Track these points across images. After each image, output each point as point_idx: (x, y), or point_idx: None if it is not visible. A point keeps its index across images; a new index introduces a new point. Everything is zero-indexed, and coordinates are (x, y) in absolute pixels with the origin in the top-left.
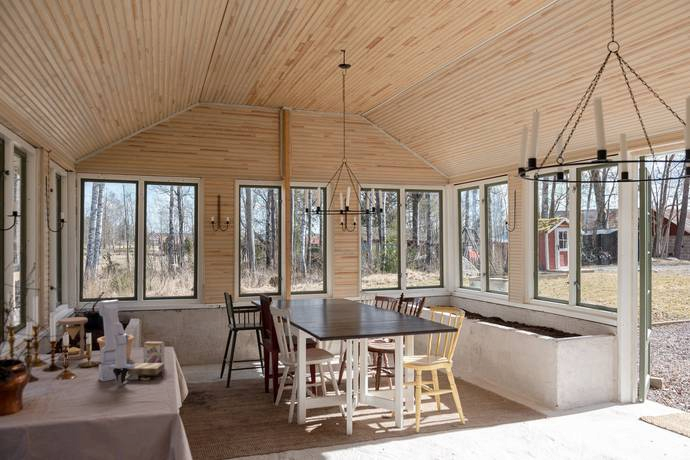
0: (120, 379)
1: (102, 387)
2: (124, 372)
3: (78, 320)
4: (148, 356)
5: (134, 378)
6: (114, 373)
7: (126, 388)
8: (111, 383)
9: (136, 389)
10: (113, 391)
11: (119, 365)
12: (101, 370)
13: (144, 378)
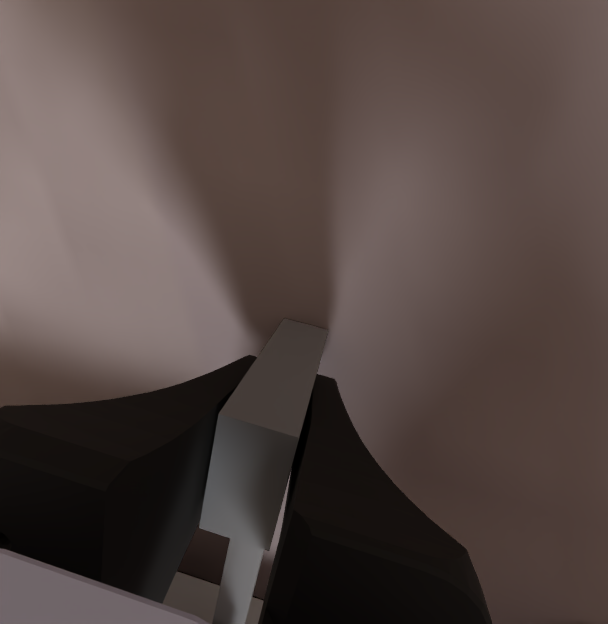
0: (263, 367)
1: (579, 350)
2: (35, 406)
3: None
4: None
5: (195, 589)
6: (403, 500)
7: (178, 196)
8: (453, 513)
9: (12, 101)
10: (351, 33)
11: None
12: None
13: None
